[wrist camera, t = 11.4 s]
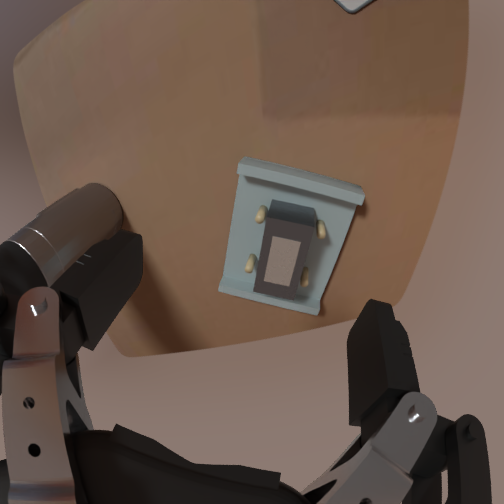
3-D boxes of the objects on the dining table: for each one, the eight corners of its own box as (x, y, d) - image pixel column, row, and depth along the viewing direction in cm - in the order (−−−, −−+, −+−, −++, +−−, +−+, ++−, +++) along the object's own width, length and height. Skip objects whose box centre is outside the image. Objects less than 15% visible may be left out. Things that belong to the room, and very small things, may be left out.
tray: (224, 277, 43) (216, 295, 40) (244, 156, 34) (236, 165, 30) (317, 300, 43) (317, 320, 39) (360, 186, 33) (366, 199, 29)
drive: (272, 199, 34) (266, 217, 30) (314, 208, 34) (314, 227, 30) (258, 271, 40) (252, 295, 36) (295, 279, 40) (292, 303, 36)
